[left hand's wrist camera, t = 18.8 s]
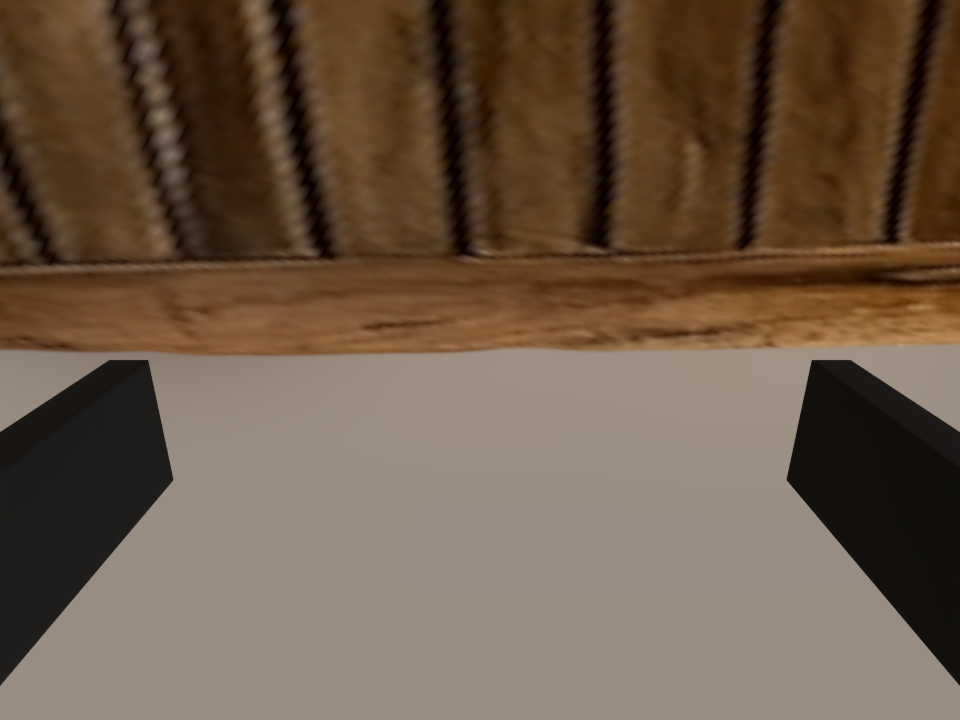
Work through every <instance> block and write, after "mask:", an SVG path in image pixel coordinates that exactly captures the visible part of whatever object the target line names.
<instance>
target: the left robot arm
mask: <svg viewBox="0 0 960 720" xmlns="http://www.w3.org/2000/svg"><path fill="white" fill-rule="evenodd" d="M172 481H173V476H172V471H171V466H170V461H169V457H168V452H167V447H166V442H165V438H164V433H163V428H162V424H161V419H160V414H159V409H158V404H157V400H156V395H155V390H154V386H153V381H152V376H151V371H150V367H149V362H148V360H109V361H107V362H106V363H104V364H103V365H101V366H100V367H98V368H97V369H95V370H94V371H92V372H91V373H89V374H88V375H86V376H85V377H83V378H82V379H80V380H79V381H77V382H76V383H74V384H72V385H71V386H70V387H68V388H66V389H65V390H63V391H62V392H60V393H59V394H57V395H56V396H54V397H53V398H51V399H50V400H48V401H47V402H45V403H44V404H42V405H41V406H39V407H38V408H36V409H35V410H33V411H32V412H30V413H29V414H27V415H25V416H24V417H22V418H21V419H19V420H18V421H16V422H15V423H13V424H12V425H10V426H9V427H7V428H6V429H4V430H3V431H1V432H0V685H1V684H2V683H3V682H4V681H5V679H6V678H7V677H8V676H9V675H10V673H11V672H12V671H13V670H14V669H15V667H16V666H17V665H18V664H19V663H20V662H21V660H22V659H23V658H24V657H25V656H26V654H27V653H28V652H29V651H30V650H31V649H32V647H33V646H34V645H35V644H36V643H37V641H38V640H39V639H40V638H41V637H42V635H43V634H44V633H45V632H46V631H47V629H48V628H49V627H50V626H51V625H52V624H53V622H54V621H55V620H56V619H57V618H58V616H59V615H60V614H61V613H62V612H63V610H64V609H65V608H66V607H67V606H68V605H69V603H70V602H71V601H72V600H73V599H74V597H75V596H76V595H77V594H78V593H79V591H80V590H81V589H82V588H83V587H84V586H85V584H86V583H87V582H88V581H89V580H90V578H91V577H92V576H93V575H94V574H95V573H96V571H97V570H98V569H99V568H100V567H101V565H102V564H103V563H104V562H105V561H106V559H107V558H108V557H109V556H110V555H111V554H112V552H113V551H114V550H115V549H116V548H117V546H118V545H119V544H120V543H121V542H122V540H123V539H124V538H125V537H126V536H127V534H128V533H129V532H130V531H131V530H132V529H133V527H134V526H135V525H136V524H137V523H138V521H139V520H140V519H141V518H142V517H143V515H144V514H145V513H146V512H147V511H148V509H149V508H150V507H151V506H152V505H153V504H154V502H155V501H156V500H157V499H158V498H159V497H160V495H161V494H162V493H163V492H164V491H165V489H166V488H167V487H168V486H169V485H170V483H171V482H172ZM787 481H788V482H789V483H790V485H791V486H792V487H793V488H794V489H795V490H796V492H797V493H798V494H799V495H800V497H801V498H802V499H803V500H804V501H805V502H806V504H807V505H808V506H809V507H810V508H811V510H812V511H813V512H814V513H815V514H816V516H817V517H818V518H819V519H820V520H821V521H822V523H823V524H824V525H825V526H826V527H827V529H828V530H829V531H830V532H831V533H832V535H833V536H834V537H835V538H836V539H837V540H838V542H839V543H840V544H841V545H842V546H843V548H844V549H845V550H846V551H847V552H848V554H849V555H850V556H851V557H852V558H853V559H854V561H855V562H856V563H857V564H858V565H859V567H860V568H861V569H862V570H863V571H864V573H865V574H866V575H867V576H868V577H869V578H870V580H871V581H872V582H873V583H874V584H875V586H876V587H877V588H878V589H879V590H880V591H881V593H882V594H883V595H884V596H885V597H886V599H887V600H888V601H889V602H890V603H891V605H892V606H893V607H894V608H895V609H896V611H897V612H898V613H899V614H900V615H901V616H902V618H903V619H904V620H905V621H906V622H907V624H908V625H909V626H910V627H911V628H912V630H913V631H914V632H915V633H916V634H917V635H918V637H919V638H920V639H921V640H922V641H923V643H924V644H925V645H926V646H927V647H928V649H929V650H930V651H931V652H932V653H933V654H934V656H935V657H936V658H937V659H938V660H939V662H940V663H941V664H942V665H943V666H944V667H945V669H946V670H947V671H948V672H949V673H950V675H951V676H952V677H953V678H954V679H955V681H956V682H957V683H958V684H959V685H960V432H959V431H957V430H956V429H954V428H953V427H951V426H950V425H948V424H947V423H945V422H944V421H942V420H941V419H939V418H938V417H936V416H935V415H933V414H931V413H930V412H928V411H927V410H925V409H924V408H922V407H921V406H919V405H918V404H916V403H915V402H913V401H912V400H910V399H909V398H907V397H906V396H904V395H903V394H901V393H900V392H898V391H897V390H895V389H894V388H892V387H891V386H889V385H888V384H886V383H884V382H883V381H881V380H880V379H878V378H877V377H875V376H874V375H872V374H871V373H869V372H868V371H866V370H865V369H863V368H862V367H860V366H859V365H857V364H856V363H854V362H853V361H851V360H812V362H811V367H810V371H809V376H808V381H807V386H806V390H805V395H804V400H803V405H802V409H801V414H800V419H799V423H798V428H797V433H796V438H795V442H794V447H793V452H792V457H791V462H790V466H789V471H788V476H787Z"/></svg>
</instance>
